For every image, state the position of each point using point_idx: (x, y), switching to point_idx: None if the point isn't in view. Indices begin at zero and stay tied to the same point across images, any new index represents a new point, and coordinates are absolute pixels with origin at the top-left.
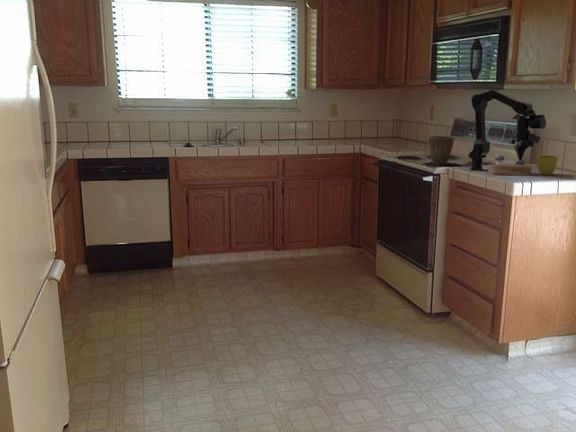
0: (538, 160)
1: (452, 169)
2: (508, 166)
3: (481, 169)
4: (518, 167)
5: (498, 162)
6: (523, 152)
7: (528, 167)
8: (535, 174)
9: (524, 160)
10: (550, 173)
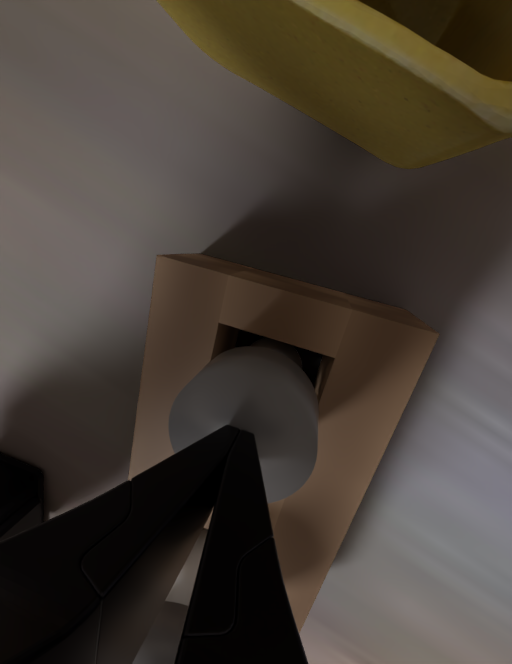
0: (464, 152)
1: None
2: (293, 538)
3: (39, 489)
4: (370, 474)
5: None
6: (278, 587)
7: (421, 368)
8: (361, 214)
9: (304, 405)
10: (476, 8)
